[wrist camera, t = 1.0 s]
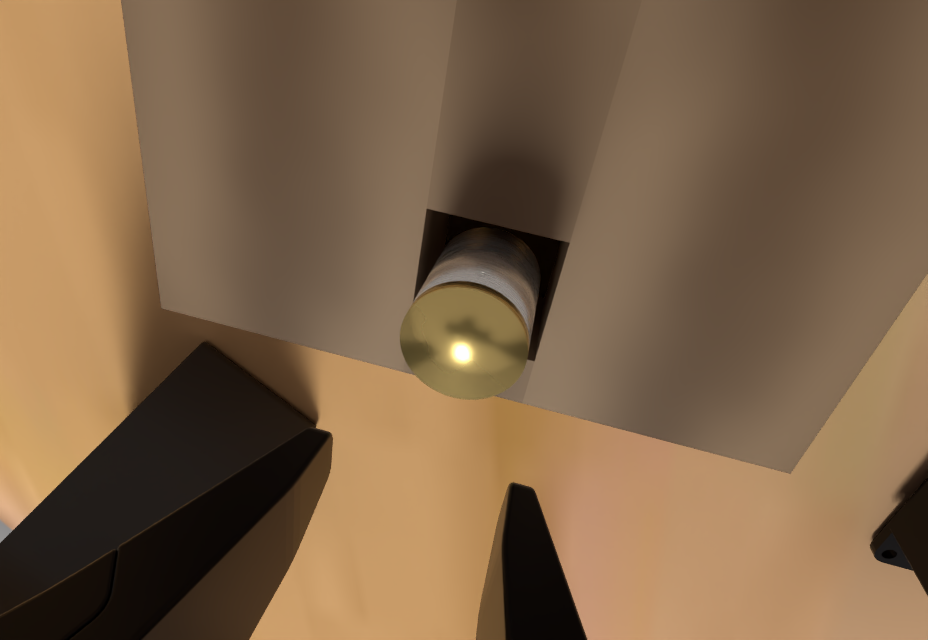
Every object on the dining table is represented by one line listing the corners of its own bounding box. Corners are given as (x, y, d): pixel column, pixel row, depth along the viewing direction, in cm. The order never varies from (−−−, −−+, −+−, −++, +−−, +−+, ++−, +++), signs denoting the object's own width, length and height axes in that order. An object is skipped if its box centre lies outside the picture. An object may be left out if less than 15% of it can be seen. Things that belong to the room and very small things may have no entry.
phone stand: (207, 337, 24) (-82, 596, 14) (319, 423, 25) (132, 719, 15) (130, 440, 28) (-132, 694, 18) (229, 509, 29) (37, 783, 19)
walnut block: (1138, -272, 11) (1381, -391, 8) (756, 392, 20) (790, 473, 17) (193, -421, 13) (46, -572, 9) (229, 258, 21) (161, 308, 18)
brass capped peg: (552, 241, 15) (542, 307, 12) (527, 332, 17) (511, 413, 14) (445, 216, 15) (407, 274, 12) (430, 308, 17) (393, 381, 14)
